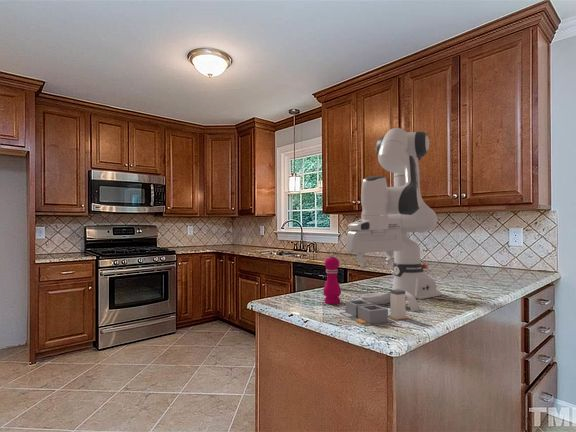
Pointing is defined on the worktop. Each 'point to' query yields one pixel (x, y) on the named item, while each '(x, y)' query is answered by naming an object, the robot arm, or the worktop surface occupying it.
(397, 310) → the plug
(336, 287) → the pepper mill
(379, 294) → the grey curved arch
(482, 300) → the worktop surface
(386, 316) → the port box
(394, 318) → the deck
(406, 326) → the worktop surface
